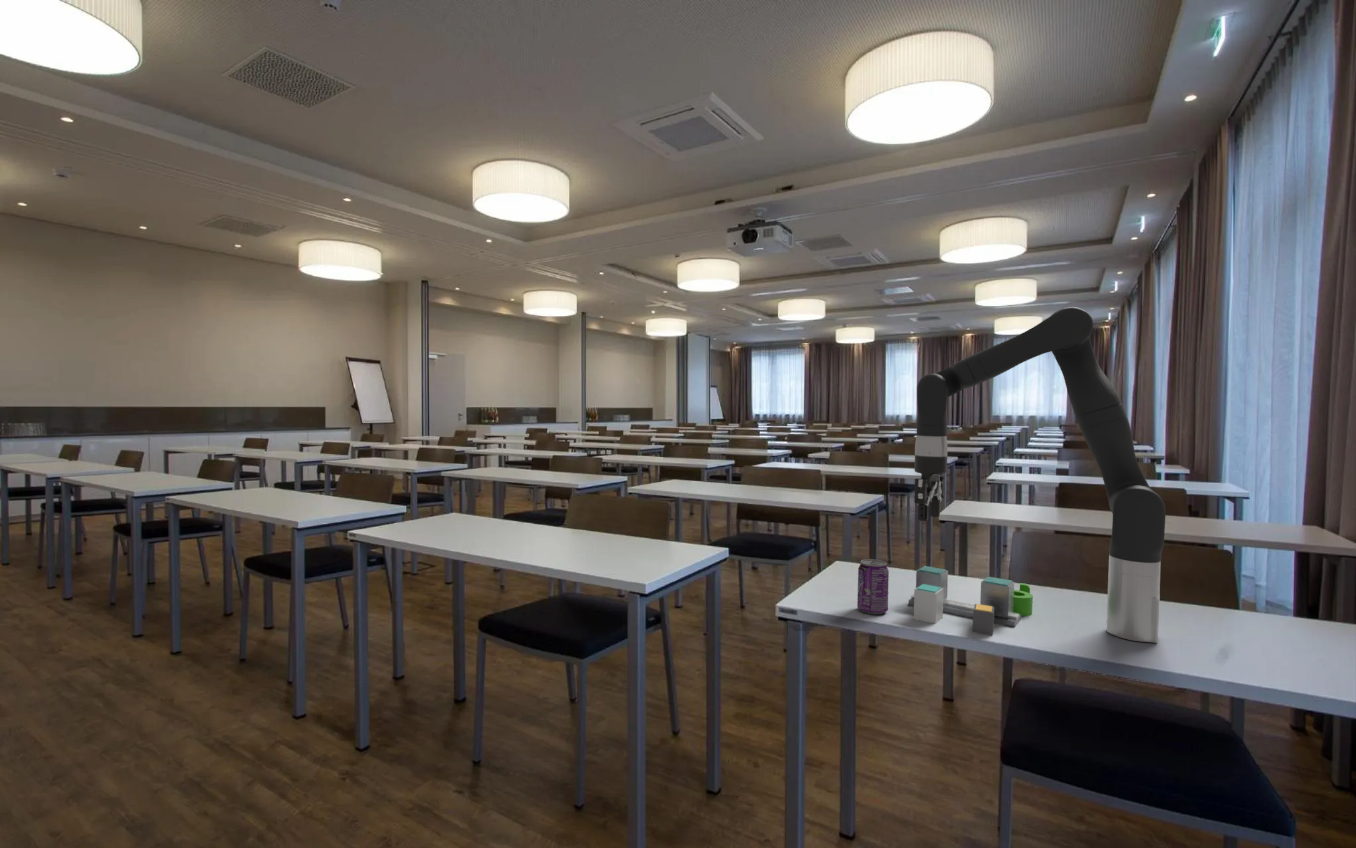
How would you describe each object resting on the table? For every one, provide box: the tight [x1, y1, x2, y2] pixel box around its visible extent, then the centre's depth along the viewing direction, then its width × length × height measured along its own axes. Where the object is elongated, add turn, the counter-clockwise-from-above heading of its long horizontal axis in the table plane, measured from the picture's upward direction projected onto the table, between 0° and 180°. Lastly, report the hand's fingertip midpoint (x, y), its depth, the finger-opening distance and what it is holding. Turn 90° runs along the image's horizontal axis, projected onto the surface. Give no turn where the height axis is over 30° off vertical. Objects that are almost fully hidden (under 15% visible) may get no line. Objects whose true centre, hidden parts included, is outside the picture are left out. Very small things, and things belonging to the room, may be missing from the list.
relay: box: [972, 603, 995, 636], centre depth 140 cm, size 4×5×5 cm
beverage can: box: [856, 558, 890, 615], centre depth 152 cm, size 7×7×12 cm
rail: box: [908, 565, 1022, 628], centre depth 152 cm, size 24×7×9 cm, turn 51°
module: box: [913, 584, 944, 624], centre depth 147 cm, size 5×6×7 cm
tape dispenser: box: [1013, 582, 1034, 617], centre depth 157 cm, size 15×7×5 cm, turn 152°
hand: (929, 518), depth 156 cm, fingers open, 8 cm apart
